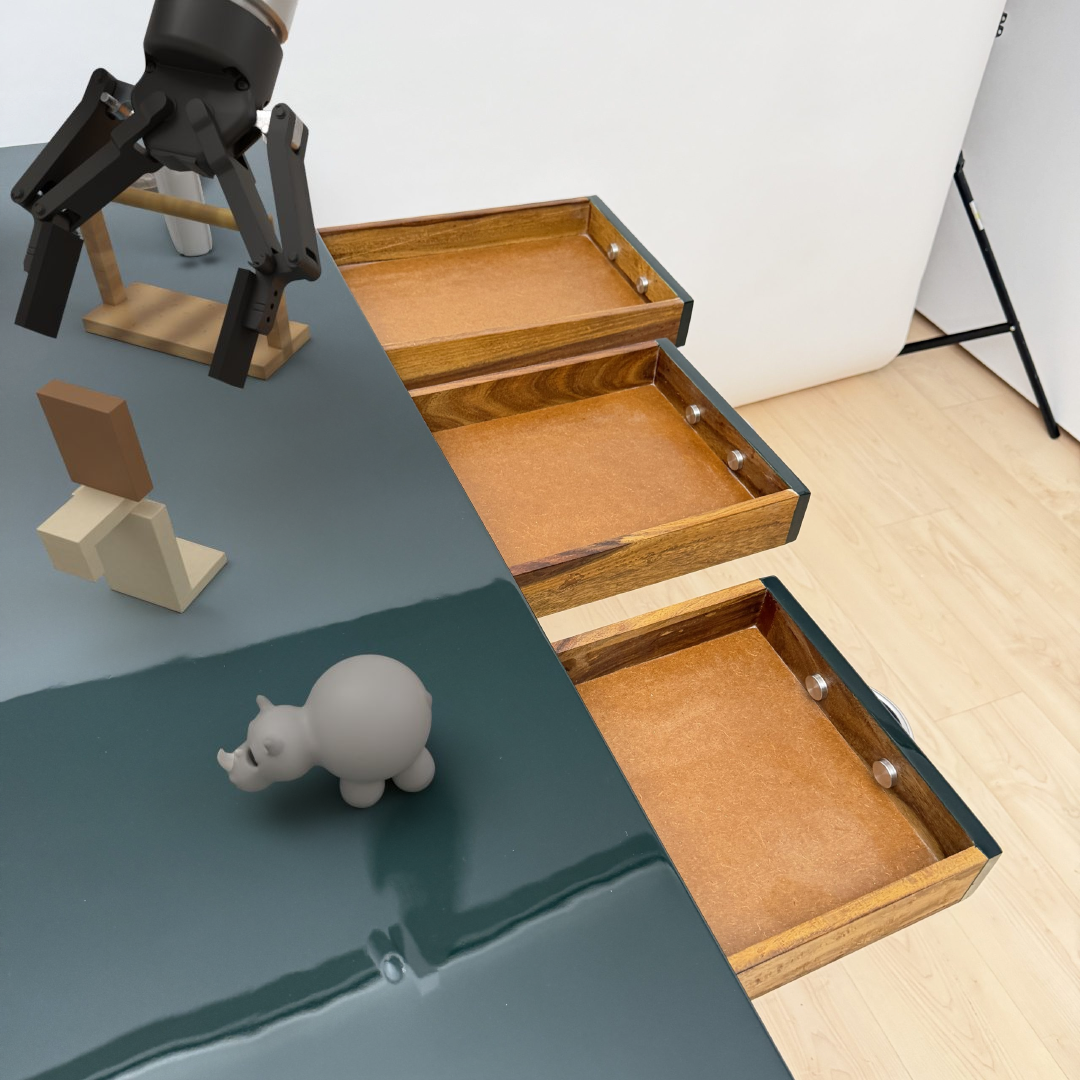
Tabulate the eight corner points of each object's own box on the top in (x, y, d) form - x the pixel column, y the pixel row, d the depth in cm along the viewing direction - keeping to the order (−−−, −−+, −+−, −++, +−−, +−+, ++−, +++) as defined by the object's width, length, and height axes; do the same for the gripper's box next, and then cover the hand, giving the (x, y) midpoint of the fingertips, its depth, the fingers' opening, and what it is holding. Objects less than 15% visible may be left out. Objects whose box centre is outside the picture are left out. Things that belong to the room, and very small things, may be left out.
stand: (85, 331, 87) (38, 191, 77) (138, 294, 92) (100, 158, 83) (266, 380, 83) (240, 238, 73) (310, 338, 88) (291, 201, 79)
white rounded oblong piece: (218, 254, 99) (194, 139, 91) (177, 259, 98) (150, 144, 89) (201, 215, 106) (178, 105, 97) (163, 220, 104) (136, 108, 96)
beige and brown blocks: (67, 631, 61) (-29, 431, 49) (158, 539, 67) (92, 343, 55) (143, 658, 59) (62, 459, 48) (227, 561, 66) (175, 365, 54)
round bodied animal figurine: (227, 750, 55) (198, 664, 49) (418, 703, 58) (413, 616, 52) (240, 857, 50) (209, 776, 44) (448, 798, 53) (445, 715, 47)
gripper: (432, 87, 55) (338, 417, 55) (93, 26, 60) (7, 328, 60) (388, 10, 48) (280, 391, 48) (6, -52, 53) (-91, 292, 53)
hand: (128, 357), depth 54 cm, fingers open, 13 cm apart
